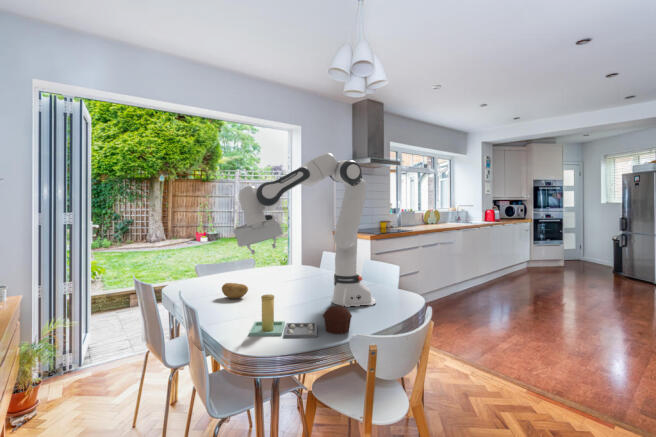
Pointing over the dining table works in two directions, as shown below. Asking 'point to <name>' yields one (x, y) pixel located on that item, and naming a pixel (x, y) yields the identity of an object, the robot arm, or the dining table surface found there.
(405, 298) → the dining table surface
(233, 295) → the potato
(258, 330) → the green tray
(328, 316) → the muffin
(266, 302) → the tan capped cylinder
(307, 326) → the gravel tray
